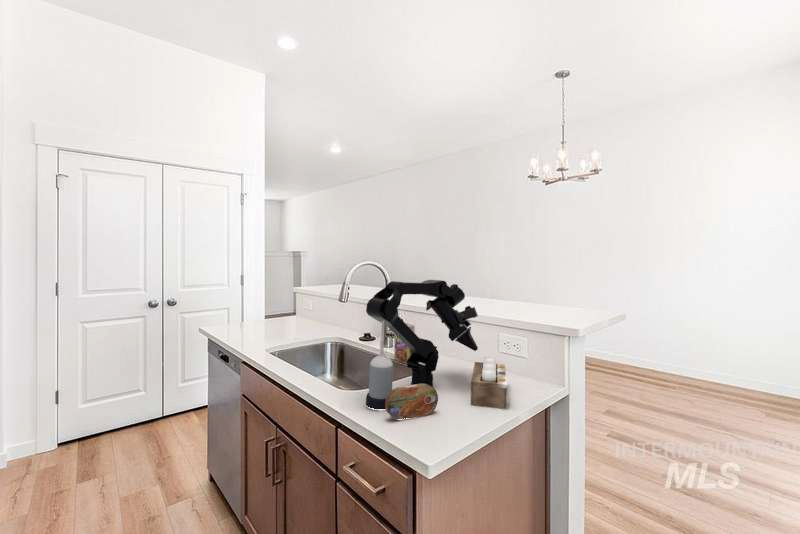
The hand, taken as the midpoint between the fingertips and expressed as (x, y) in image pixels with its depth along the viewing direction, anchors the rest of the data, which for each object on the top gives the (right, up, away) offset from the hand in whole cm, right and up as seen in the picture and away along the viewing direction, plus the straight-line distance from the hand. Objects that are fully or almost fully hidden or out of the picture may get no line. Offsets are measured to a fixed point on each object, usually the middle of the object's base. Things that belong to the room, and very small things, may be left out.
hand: (476, 349), depth 126 cm
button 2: (+4, -7, -1) cm, 8 cm away
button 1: (+1, -8, -14) cm, 16 cm away
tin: (-22, -13, -23) cm, 35 cm away
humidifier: (-31, -13, -16) cm, 37 cm away
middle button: (+2, -7, -7) cm, 11 cm away
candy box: (-24, -11, +28) cm, 39 cm away
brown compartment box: (+2, -12, -7) cm, 15 cm away
